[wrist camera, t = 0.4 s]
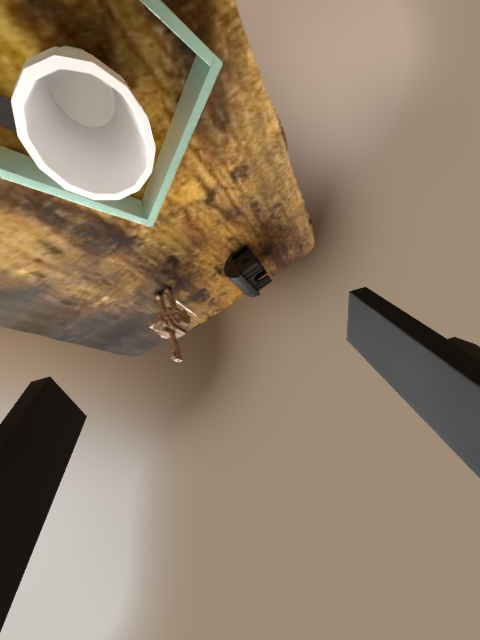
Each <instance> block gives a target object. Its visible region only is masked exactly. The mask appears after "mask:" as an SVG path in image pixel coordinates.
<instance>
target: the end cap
mask: <svg viewBox="0 0 480 640" xmlns="http://www.w3.org/2000/svg"><path fill="white" fill-rule="evenodd" d="M224 273H225V275H226V277H228V278H229V279H230V280H231V281H232V282H233V283H234V284H235V285H236V286H237V287H239V288H240V289H241V290H242V291H243V292H244V293H245V294H246V295H248V296H250V297H256V296H258V295H260V293H259V290H260V289H262V288H263V287H265V286H266V285H268V284H269V283H270V282H272V280H271V279H270V277H269V276H268V275H266V276H265V277H264V278H262V279H261V280H259V279H260V278H261V277H263V276H264V275H265V274H267V272H266V271H265V269H264V268H263V266H262V265H261V263H260V262H259V261H258V259H257V258H256V257H255V255H254V254H253V253H252V251H251V250H250V249H249V247H248V246H247V245H244V246H243V247H241V248H240V249H239V250H237V251H236V252H235V253H233V254H232V255H231V256H230V257H229V259H228V260H227V262H226V263H225V266H224Z"/></svg>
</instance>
